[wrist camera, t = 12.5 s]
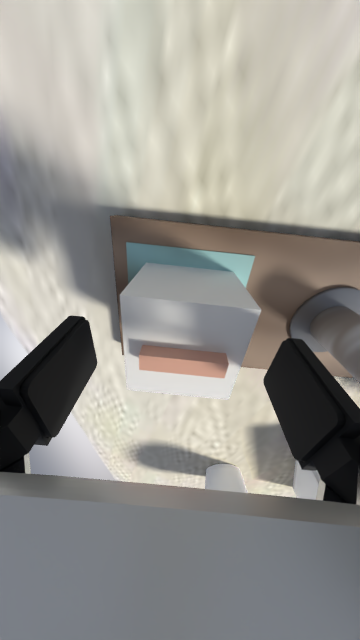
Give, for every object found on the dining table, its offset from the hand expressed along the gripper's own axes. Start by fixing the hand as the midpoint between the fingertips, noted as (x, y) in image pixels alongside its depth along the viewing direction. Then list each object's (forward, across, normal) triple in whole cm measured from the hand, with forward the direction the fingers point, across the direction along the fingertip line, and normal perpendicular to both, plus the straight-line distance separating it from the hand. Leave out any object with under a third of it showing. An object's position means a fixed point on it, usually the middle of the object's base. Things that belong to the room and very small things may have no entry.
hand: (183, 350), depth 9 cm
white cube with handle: (+6, 0, +1) cm, 6 cm away
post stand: (+8, -6, +1) cm, 10 cm away
